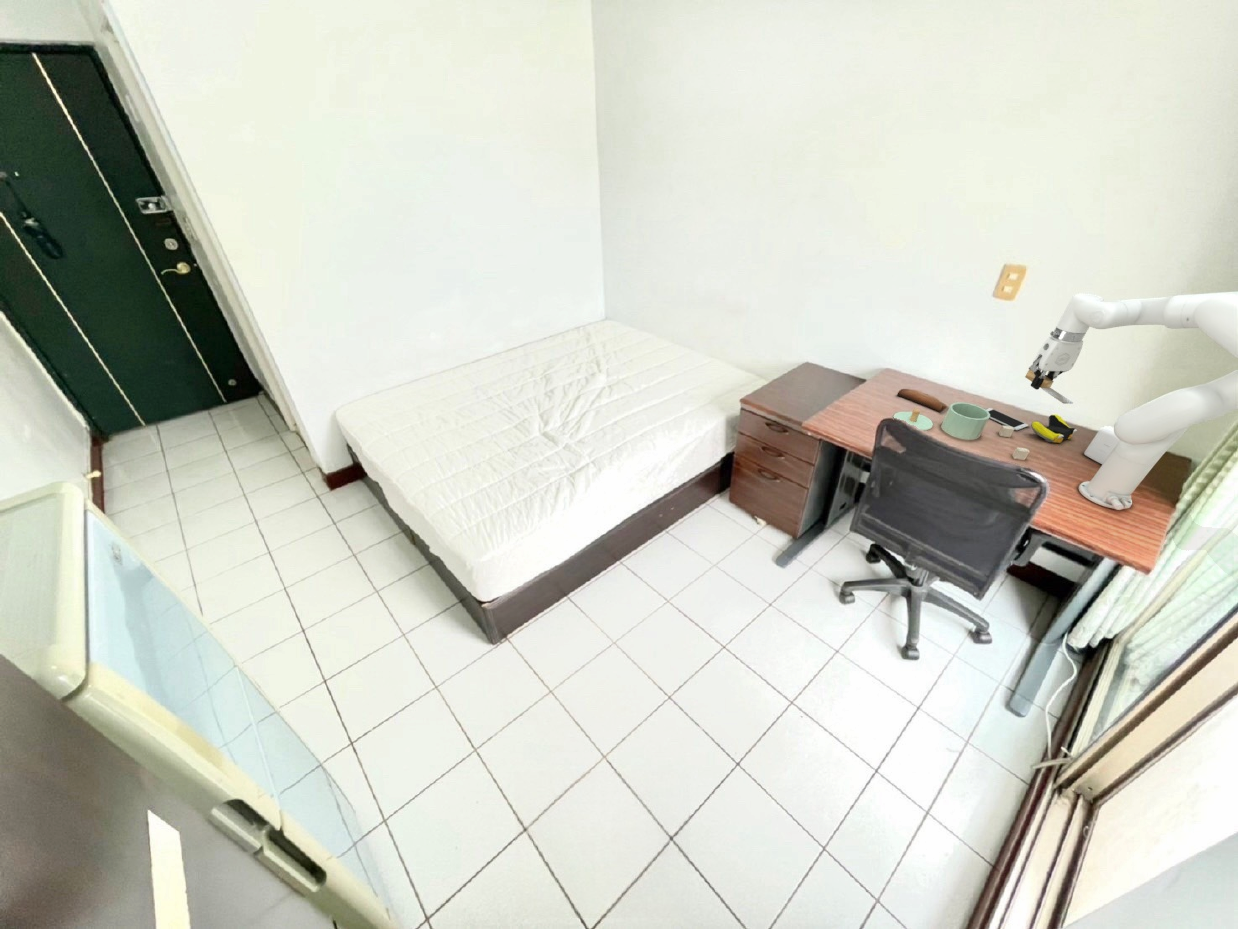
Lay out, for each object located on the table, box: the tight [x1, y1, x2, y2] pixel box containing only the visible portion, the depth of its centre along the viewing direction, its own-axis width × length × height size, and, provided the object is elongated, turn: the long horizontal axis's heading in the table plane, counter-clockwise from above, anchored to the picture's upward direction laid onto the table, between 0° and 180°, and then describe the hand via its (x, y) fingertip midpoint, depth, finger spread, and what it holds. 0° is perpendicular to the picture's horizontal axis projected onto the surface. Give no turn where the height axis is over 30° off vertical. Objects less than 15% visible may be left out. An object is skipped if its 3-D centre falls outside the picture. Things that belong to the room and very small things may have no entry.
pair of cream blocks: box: [998, 425, 1030, 461], centre depth 172 cm, size 17×3×4 cm, turn 163°
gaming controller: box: [1030, 414, 1078, 444], centre depth 177 cm, size 15×6×10 cm
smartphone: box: [985, 407, 1029, 431], centre depth 188 cm, size 8×1×15 cm
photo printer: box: [1083, 425, 1120, 465], centre depth 162 cm, size 10×4×12 cm, turn 14°
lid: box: [892, 408, 934, 432], centre depth 185 cm, size 14×14×6 cm
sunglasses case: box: [896, 388, 949, 413], centre depth 199 cm, size 18×7×7 cm
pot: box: [940, 401, 990, 441], centre depth 179 cm, size 13×13×9 cm
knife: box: [1024, 369, 1074, 405], centre depth 159 cm, size 3×19×3 cm, turn 178°
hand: (1038, 387), depth 163 cm, fingers closed on knife, 2 cm apart
